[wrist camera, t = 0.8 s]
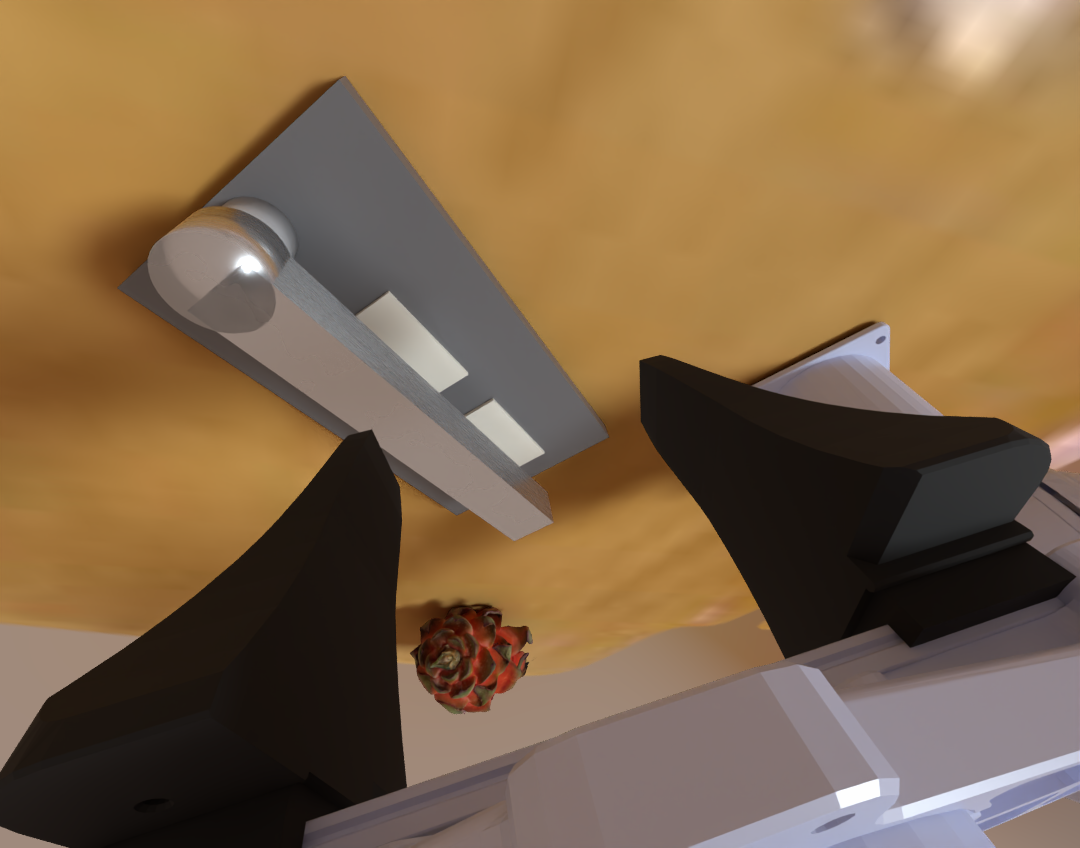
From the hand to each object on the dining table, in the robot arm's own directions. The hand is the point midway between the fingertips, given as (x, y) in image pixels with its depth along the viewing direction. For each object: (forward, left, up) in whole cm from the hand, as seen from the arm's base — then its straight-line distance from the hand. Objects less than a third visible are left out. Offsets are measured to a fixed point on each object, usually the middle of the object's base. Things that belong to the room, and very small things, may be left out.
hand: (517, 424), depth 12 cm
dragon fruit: (-26, +20, -9) cm, 34 cm away
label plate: (-2, +5, -9) cm, 11 cm away
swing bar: (-1, +5, -6) cm, 8 cm away
